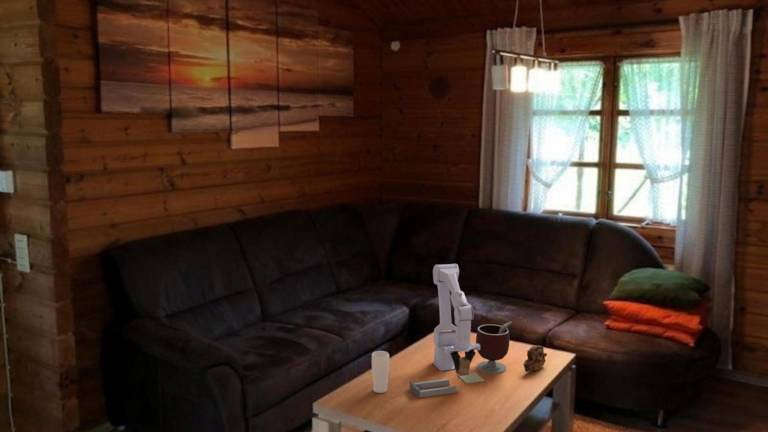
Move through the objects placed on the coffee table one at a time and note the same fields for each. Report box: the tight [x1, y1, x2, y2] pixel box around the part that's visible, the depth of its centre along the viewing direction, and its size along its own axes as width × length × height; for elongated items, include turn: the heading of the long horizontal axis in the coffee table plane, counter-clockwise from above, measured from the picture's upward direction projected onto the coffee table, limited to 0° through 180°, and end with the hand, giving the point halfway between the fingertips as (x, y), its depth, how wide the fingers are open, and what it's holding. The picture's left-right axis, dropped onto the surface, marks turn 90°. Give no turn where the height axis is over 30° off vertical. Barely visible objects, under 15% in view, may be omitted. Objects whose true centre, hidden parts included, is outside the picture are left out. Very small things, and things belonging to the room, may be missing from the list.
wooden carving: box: [522, 345, 548, 373], centre depth 266 cm, size 16×5×10 cm, turn 143°
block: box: [455, 356, 471, 377], centre depth 247 cm, size 4×4×6 cm
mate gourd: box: [475, 321, 513, 375], centre depth 266 cm, size 16×14×20 cm
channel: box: [409, 378, 458, 399], centre depth 245 cm, size 8×16×3 cm, turn 109°
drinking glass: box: [371, 350, 390, 394], centre depth 243 cm, size 7×7×15 cm
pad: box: [457, 372, 485, 384], centre depth 257 cm, size 8×8×1 cm
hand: (461, 368), depth 248 cm, fingers closed on block, 4 cm apart
